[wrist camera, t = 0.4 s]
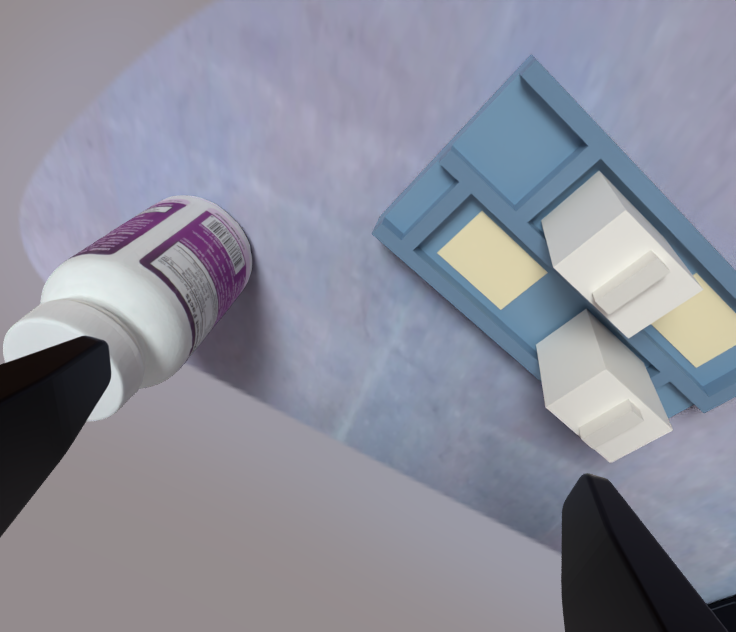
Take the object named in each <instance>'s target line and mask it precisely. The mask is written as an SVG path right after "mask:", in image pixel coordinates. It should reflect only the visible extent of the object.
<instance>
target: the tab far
mask: <svg viewBox="0 0 736 632" xmlns="http://www.w3.org/2000/svg"><path fill="white" fill-rule="evenodd" d="M536 348H537V354H538V361H539V368H540V374H541V381H542V387H543V394H544V400H545V407H546V408H547V409H548V410H549V411H550V412H552V413H553V414H554V415H555V416H556V417H557V418H559V419H560V420H561V421H562V422H563V423H564V424H566V425H567V426H568V427H569V428H570V429H571V430H572V431H574V432H575V433H576V434H577V435H578V436H579V437H581V439H582V440H583V441H584V442H585V443H586V444H587V445H589V446H590V447H591V448H592V449H595V450H596V451H597V452H598V453H599V454H600V455H602V456H603V457H604V458H605V459H606V460H607V461H609V462H610V463H612V462H614V461H616V460H618V459H619V458H621V457H623V456H625V455H627V454H629V453H631V452H633V451H635V450H637V449H638V448H640V447H642V446H644V445H646V444H648V443H650V442H652V441H654V440H655V439H657V438H659V437H661V436H663V435H665V434H667V433H669V432H671V431H673V428H672V426H671V424H670V422H669V419H668V417H667V415H666V413H665V410H664V408H663V406H662V404H661V401H660V399H659V397H658V394H657V392H656V390H655V388H654V385H653V383H652V381H651V379H650V376H649V374H648V372H647V369H646V367H645V365H644V363H643V362H642V361H641V360H640V359H639V358H638V357H637V356H636V355H635V354H634V353H633V352H632V351H631V350H630V349H629V348H628V347H627V346H625V345H624V344H623V343H622V342H621V341H620V340H619V339H618V338H617V337H616V336H615V335H614V334H613V333H612V332H611V331H610V330H608V329H607V328H606V327H605V326H604V325H603V324H602V323H601V322H600V321H599V320H598V319H597V318H596V317H595V316H594V315H593V314H591V313H590V312H589V311H588V310H587V309H585V310H584V311H582V312H581V313H579V314H578V315H577V316H575V317H574V318H572V319H571V320H570V321H568V322H567V323H565V324H564V325H563V326H561V327H560V328H558V329H557V330H556V331H554V332H553V333H551V334H550V335H549V336H547V337H546V338H545V339H543V340H542V341H540V342H539V343H538V344H536Z"/></svg>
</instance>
